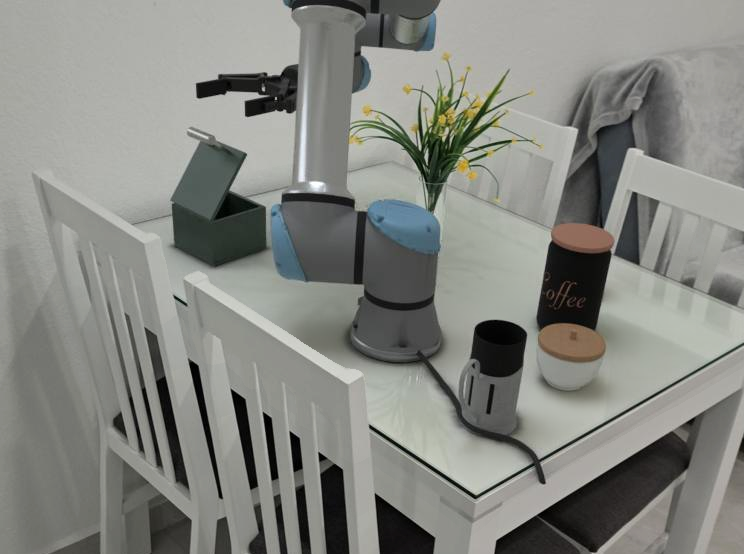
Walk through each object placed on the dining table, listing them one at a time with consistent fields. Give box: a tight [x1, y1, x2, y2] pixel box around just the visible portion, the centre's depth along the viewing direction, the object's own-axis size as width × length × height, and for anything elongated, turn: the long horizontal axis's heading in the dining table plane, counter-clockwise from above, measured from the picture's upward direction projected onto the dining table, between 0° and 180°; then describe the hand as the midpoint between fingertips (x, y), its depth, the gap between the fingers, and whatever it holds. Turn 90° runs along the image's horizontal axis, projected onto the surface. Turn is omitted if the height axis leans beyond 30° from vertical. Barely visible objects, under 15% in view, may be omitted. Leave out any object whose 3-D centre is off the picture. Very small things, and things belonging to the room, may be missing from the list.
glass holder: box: [457, 319, 528, 437], centre depth 130 cm, size 9×14×15 cm, turn 146°
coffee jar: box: [535, 222, 615, 332], centre depth 157 cm, size 11×11×18 cm
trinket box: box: [536, 323, 607, 392], centre depth 145 cm, size 11×11×9 cm
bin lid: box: [169, 126, 248, 221], centre depth 167 cm, size 14×12×7 cm
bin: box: [171, 189, 267, 267], centre depth 177 cm, size 13×12×9 cm
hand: (221, 99), depth 165 cm, fingers open, 13 cm apart
